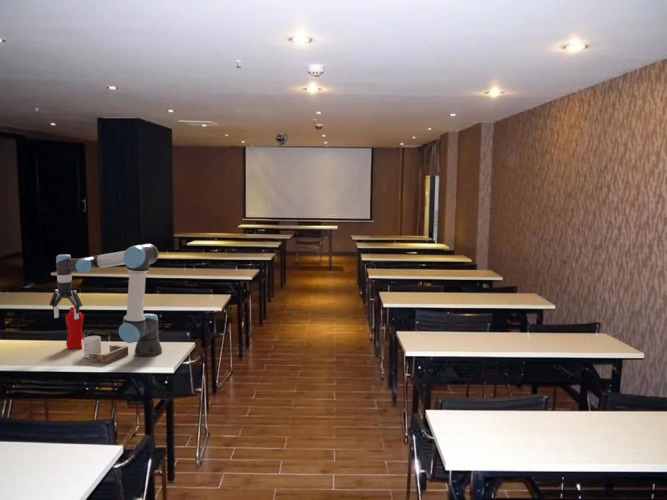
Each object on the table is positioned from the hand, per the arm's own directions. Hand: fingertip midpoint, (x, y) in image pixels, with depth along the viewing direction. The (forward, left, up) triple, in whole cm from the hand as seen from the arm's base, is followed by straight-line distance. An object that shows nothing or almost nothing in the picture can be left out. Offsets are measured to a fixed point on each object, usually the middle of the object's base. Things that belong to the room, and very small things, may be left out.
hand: (66, 318), depth 335 cm
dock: (-28, 0, -21) cm, 35 cm away
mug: (-16, +1, -21) cm, 27 cm away
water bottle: (+6, -12, -21) cm, 25 cm away
